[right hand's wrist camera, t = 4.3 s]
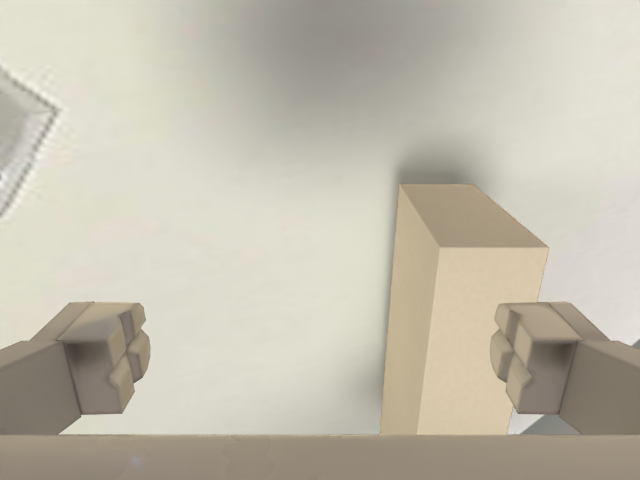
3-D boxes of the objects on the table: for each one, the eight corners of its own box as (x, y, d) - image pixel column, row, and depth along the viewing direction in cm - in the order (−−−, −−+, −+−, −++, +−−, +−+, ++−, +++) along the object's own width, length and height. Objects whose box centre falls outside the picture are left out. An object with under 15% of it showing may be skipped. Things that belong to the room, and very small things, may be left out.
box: (399, 183, 34) (439, 247, 23) (473, 183, 34) (550, 247, 23) (379, 435, 44) (400, 563, 33) (437, 434, 44) (477, 562, 33)
